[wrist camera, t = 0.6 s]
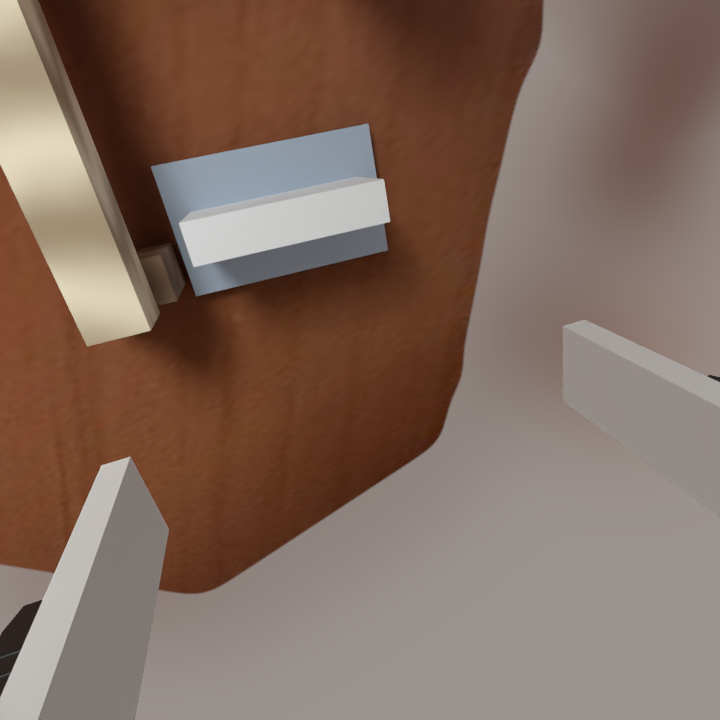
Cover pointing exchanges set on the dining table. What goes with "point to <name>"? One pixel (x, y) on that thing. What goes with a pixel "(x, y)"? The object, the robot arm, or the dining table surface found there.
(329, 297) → the dining table surface
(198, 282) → the fulcrum
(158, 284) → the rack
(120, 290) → the rod
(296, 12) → the dining table surface
